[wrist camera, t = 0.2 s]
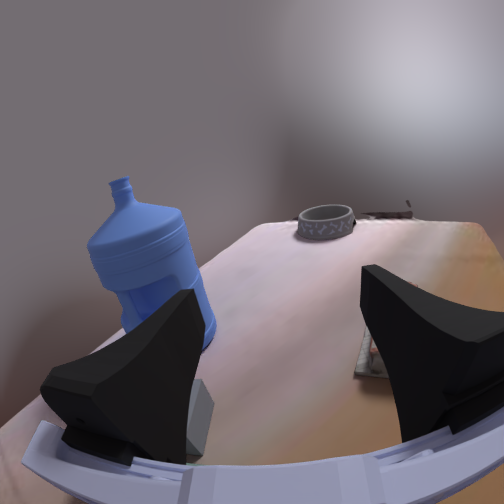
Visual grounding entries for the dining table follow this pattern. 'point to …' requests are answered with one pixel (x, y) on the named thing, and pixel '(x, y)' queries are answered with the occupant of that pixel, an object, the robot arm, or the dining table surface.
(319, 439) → the dining table surface
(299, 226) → the dog bowl
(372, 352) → the packaged product
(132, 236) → the water jug
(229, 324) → the dining table surface
